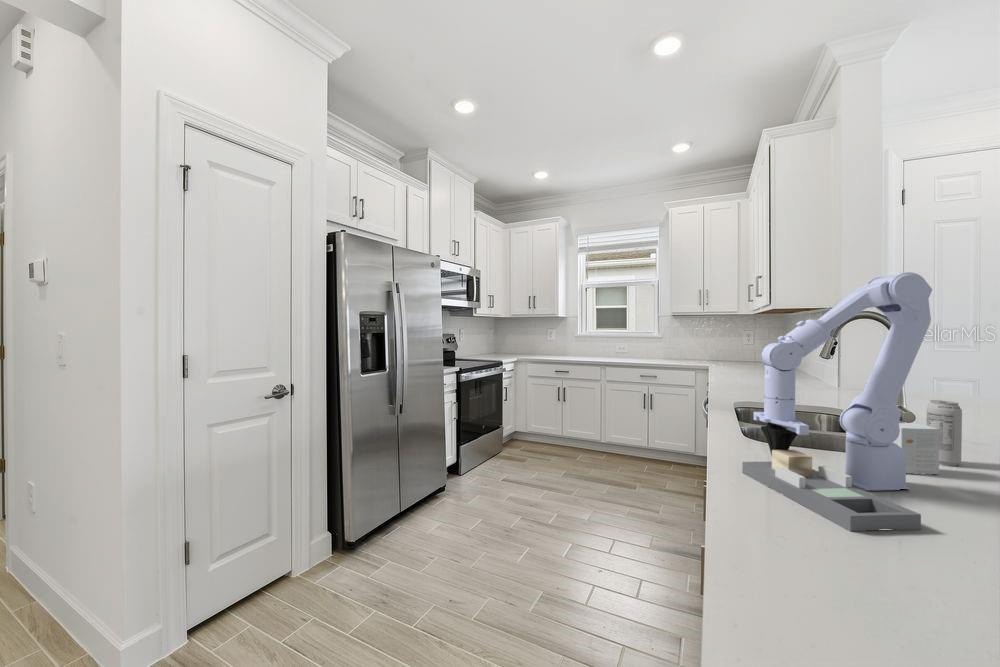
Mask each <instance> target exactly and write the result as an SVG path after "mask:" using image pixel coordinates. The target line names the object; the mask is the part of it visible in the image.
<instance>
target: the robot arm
mask: <svg viewBox="0 0 1000 667" xmlns="http://www.w3.org/2000/svg"><path fill="white" fill-rule="evenodd" d="M932 292H933V288H932V287H931V286H930V285H929V283H928V282H927V281H926V279H925V278H924V277H923V276H921V275H920V274H918V273H916V272H912V271H910V272H909V271H908V272H907V271H905V272H902V273H899V274H893V275H889V276H880V277H874V278H872V279H870V280H869V281H868V282H867V283H865V284H862V285H861V286H859V287H858V288H856V289H855V290H854V291H853V292H852V293H850V294H849V295H847V296H846V297H845V298H844V299H842V300H841V301H840V302H839V303H838V304H836V305H834V306H833V307H832V308H831V309H830V310H828V311H827V312H826V313H824V315H822V316H821V317H819V318H818V319H811V318H810V319H806V320H805V321H804V320H800V321H798V322H797V323H796V327H795V328H793V329H792V330H790V331H789V332H788V333H786V334H785V335H780V336H779V337H777V340H778V342H771V343H769V344H767V345H766V346H765V347H764V348H763V349H762V352H761V354H759V358H760V359H759V360H760V361H761V363H762V364H763V365H764V376H763V378H764V382H763V383H764V384H763V386H764V387H763V392H764V394H763V395H764V396H763V411H753V420H754V421H760V422H763V423H765V424H766V425H761V426H760V430H761V432H762V434H763V435H764V437H765V439H766V441H767V443H768V447H769V451H770V455H771V457H772V450H790V447H791V445H792V443H793V442H794V440H795V438H796V437H797V436H798V435H799V436H803V435H804V436H805V435H806V436H809V435H810V425H808V424H806V423H803V422H802V421H800V420H798V419H796V381H797V380H796V368H798V367H799V366H800V365H801V363H802V359H803V358H805V357H806V356H808V355H809V354H810V353H812V352H813V351H815V350H816V349H818V348H819V347H821V346H822V345H824V344H825V343H826V342H828V341H829V340H830V339H831V331H833V330H834V329H836V328H838V327H839V326H841V325H842V324H844V323H846V322H847V321H849V320H850V319H852V318H853V317H855V316H856V315H857V316H858V315H859V314H860V313H861V312H863V311H865V310H866V309H869V308H870V309H871V308H875V309H876V310H878V311H879V312H880V313H882V314H883V315H884V316H886V318H887V319H888V320H889V321H890V323H891V326H890V328H889V330H888V332H887V335H886V337H885V339H884V342H883V345H882V346H881V349H880V351H879V354H878V356H877V358H876V361H875V363H874V366H873V368H872V371H871V372H870V375H869V377H868V379H867V382H866V384H865V387H864V390H863V391H862V392H861V393H860V394H859V395H857V396H856V397H854V398H852V400H851V402H850V404H849V406H848V407H847V408H845V409H843V411H841V413H840V415H839V424H840V427H841V428H842V429H843V430H844V431H845V462H844V463H845V470H844V471H845V472H844V474H846V475H849V476H851V477H852V486H854V487H857V488H859V489H861V490H864V491H866V492H870V491H873V492H875V491H901V490H900V489H911V488H910V486H907V481H906V479H907V474H906V456H905V453H904V452H903V450H902V449H901V447H899V446H898V445H897V444H895V443H892V442H894V441H895V440H896V439H897V438H898V436H899V433H900V428H899V423H900V419H901V417H902V412H901V411H900V408H899V407H898V405H897V401H898V398H899V396H900V395H901V392H902V390H903V387H904V384H905V382H906V380H907V378H908V375H909V374H910V371H911V368H912V366H913V364H914V362H915V359H916V358H917V355H918V353H919V350H920V348H921V345H922V343H923V341H924V339H925V337H926V334H927V332H928V330H929V327H930V325H931V321H932V317H931V309H930V301H929V298H930V297H931V294H932Z"/></svg>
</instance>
